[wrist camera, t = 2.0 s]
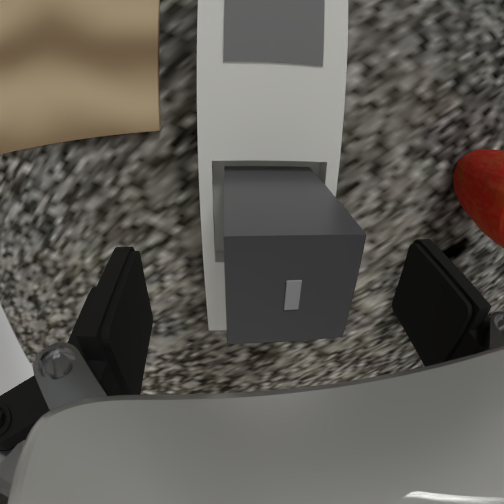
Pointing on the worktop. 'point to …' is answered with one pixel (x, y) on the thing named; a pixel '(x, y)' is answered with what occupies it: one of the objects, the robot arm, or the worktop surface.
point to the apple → (482, 190)
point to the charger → (286, 256)
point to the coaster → (77, 70)
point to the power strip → (264, 103)
